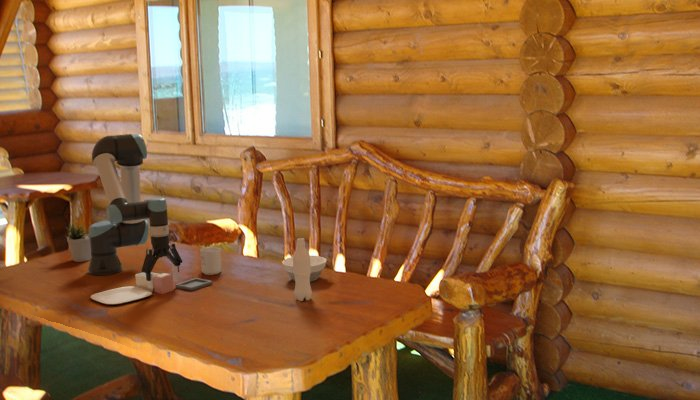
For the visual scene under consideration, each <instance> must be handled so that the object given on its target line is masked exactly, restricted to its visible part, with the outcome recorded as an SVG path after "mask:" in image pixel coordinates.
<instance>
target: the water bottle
mask: <svg viewBox="0 0 700 400" xmlns="http://www.w3.org/2000/svg"><path fill="white" fill-rule="evenodd" d="M310 256H311V255H310V253H309V251H308V250H307V249H306V241H305V238H303V237H298V238H297V239H296V249H295V251H294V253H293V256H292V257H293V273H294V276H295V281H294V282H295V283H294V284H295V287H294V291H293V294H294V298H295V300H296V301H298V302H303V301H304V299H305V301H306V302H307V301H310V300H311V298H312V294H313V291H312V287H311V282H310V274H311V267H310V260H311V259H310Z"/></svg>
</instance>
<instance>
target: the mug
mask: <svg viewBox="0 0 700 400" xmlns="http://www.w3.org/2000/svg"><path fill="white" fill-rule="evenodd" d="M199 251H200V263H201V272H202V273H203V274H204V275H207V276H213V275H214V274H215V275H219V274H220V273H221V271H222V257H221V248H220V247H218V246H207V247H203V248H200V250H199Z"/></svg>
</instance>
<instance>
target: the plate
mask: <svg viewBox="0 0 700 400" xmlns="http://www.w3.org/2000/svg"><path fill="white" fill-rule="evenodd" d="M152 295H153V292H152V291H148V290H145V289H142V288H139V287H136V286H132V285H129V286H122V287H121V286H120V287H117V288H112V289H108V290H104V291H100V292H96V293H93V294H92V295H90V299H91V300H93V301H95V302H97V303H99V304H100V303H101V304H103V305H106V306H107V305H108V306H109V305H110V306H115V305H122V304H127V303H131V302H134V301H135V302H136V301H139V300H143V299H145V298H149V297H151V296H152Z"/></svg>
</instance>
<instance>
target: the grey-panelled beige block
mask: <svg viewBox="0 0 700 400" xmlns="http://www.w3.org/2000/svg"><path fill="white" fill-rule="evenodd" d="M151 273H153V276H156V275H159V274H160V273H158V272H157V273H156V272H152V271H151ZM153 283H154V278H153ZM135 287H139V288H142V289H145V290H148V291H150V292H152V293H153V292H154V293H155V290H154V288H153V289H152V288H148V281H147V280H146V273H143V272H140V273H136V274H135Z"/></svg>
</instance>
